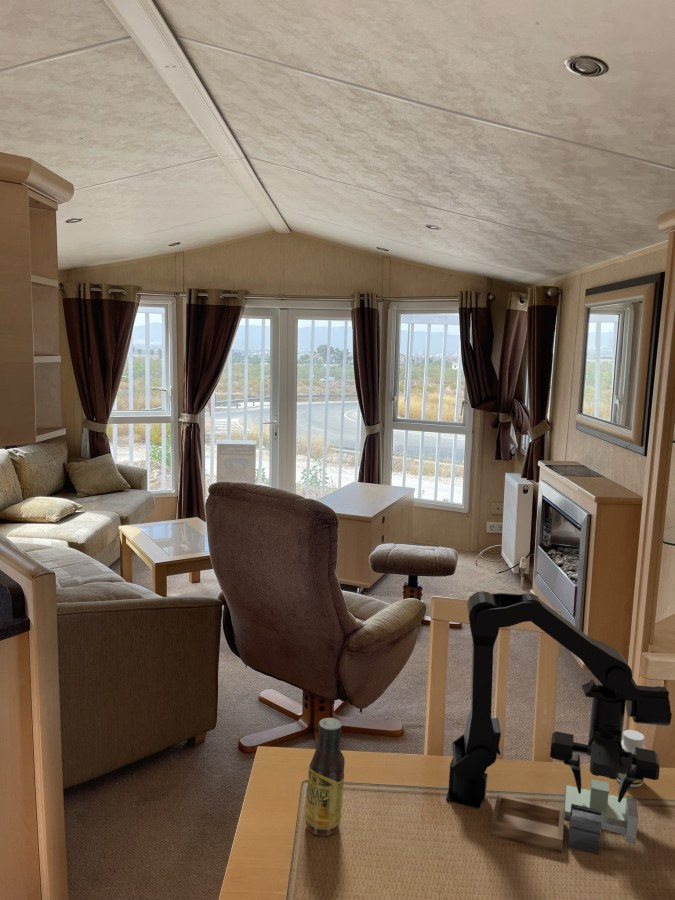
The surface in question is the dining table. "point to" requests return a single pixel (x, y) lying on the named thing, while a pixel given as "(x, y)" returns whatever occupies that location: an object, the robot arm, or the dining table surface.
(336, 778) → the sauce bottle
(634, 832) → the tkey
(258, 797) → the dining table surface
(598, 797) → the cover
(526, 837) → the case
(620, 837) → the dining table surface
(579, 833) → the lock block
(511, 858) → the dining table surface
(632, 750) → the supplement bottle
